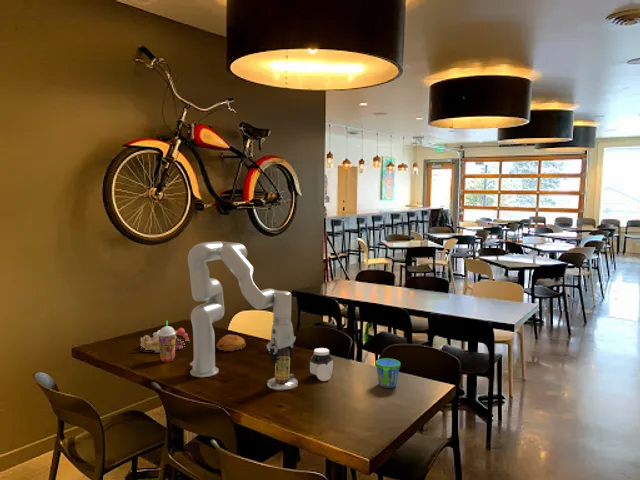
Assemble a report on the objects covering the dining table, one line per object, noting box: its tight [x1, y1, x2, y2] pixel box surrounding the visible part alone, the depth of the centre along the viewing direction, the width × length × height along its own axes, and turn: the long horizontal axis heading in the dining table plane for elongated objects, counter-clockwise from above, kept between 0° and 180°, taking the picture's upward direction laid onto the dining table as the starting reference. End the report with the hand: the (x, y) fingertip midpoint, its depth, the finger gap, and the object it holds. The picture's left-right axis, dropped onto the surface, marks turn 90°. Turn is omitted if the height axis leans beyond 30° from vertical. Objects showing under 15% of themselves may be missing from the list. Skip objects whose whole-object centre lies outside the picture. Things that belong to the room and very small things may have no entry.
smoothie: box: [158, 320, 177, 363], centre depth 234 cm, size 8×8×20 cm
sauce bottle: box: [274, 347, 291, 384], centre depth 203 cm, size 7×6×20 cm
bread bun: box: [215, 333, 247, 352], centre depth 256 cm, size 15×16×8 cm
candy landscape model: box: [140, 327, 190, 353], centre depth 258 cm, size 25×24×9 cm
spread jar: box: [309, 347, 334, 382], centre depth 213 cm, size 12×11×12 cm
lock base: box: [266, 373, 299, 391], centre depth 204 cm, size 13×13×3 cm
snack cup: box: [375, 357, 401, 389], centre depth 203 cm, size 16×10×10 cm
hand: (281, 359), depth 203 cm, fingers open, 9 cm apart
